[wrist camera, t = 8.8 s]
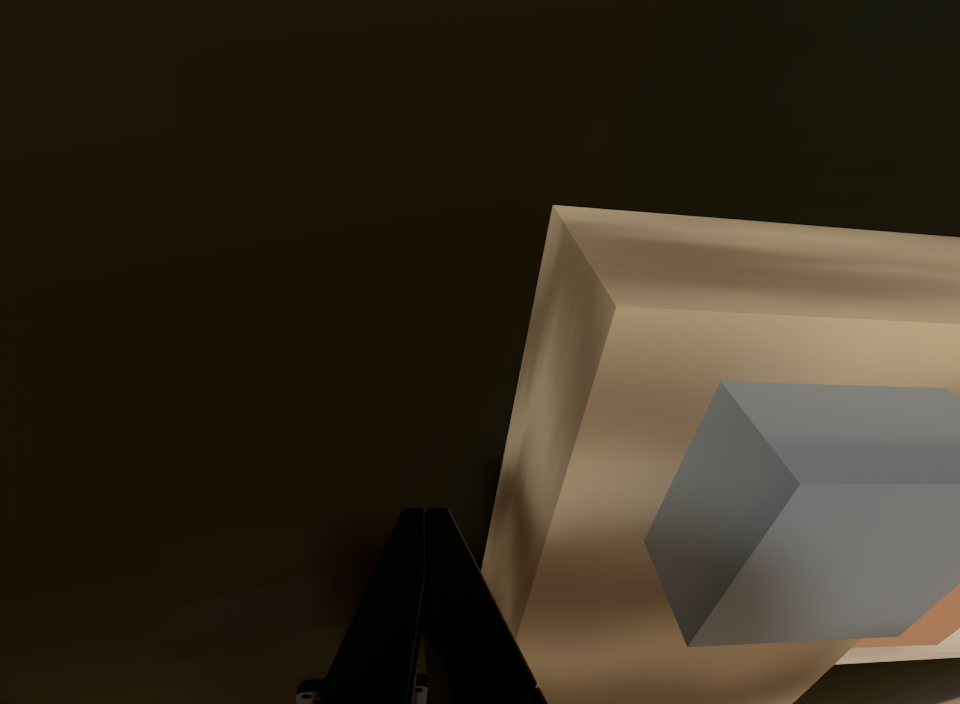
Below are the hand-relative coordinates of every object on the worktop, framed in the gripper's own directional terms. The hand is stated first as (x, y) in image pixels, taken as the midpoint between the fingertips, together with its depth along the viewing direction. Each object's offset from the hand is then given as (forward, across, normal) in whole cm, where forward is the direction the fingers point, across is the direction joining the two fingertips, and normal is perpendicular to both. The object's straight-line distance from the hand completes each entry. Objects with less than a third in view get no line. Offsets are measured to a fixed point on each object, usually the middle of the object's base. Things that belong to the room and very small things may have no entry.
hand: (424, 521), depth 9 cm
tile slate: (+1, -8, 0) cm, 8 cm away
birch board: (+6, -9, +5) cm, 12 cm away
